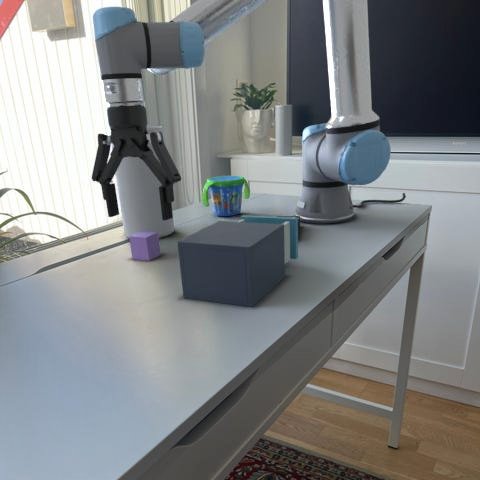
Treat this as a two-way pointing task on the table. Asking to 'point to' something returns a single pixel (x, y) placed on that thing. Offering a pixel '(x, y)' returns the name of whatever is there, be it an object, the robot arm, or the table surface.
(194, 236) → the slate grey box
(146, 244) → the purple block
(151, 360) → the table surface
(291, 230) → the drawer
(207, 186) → the snack cup
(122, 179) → the cylinder vase
